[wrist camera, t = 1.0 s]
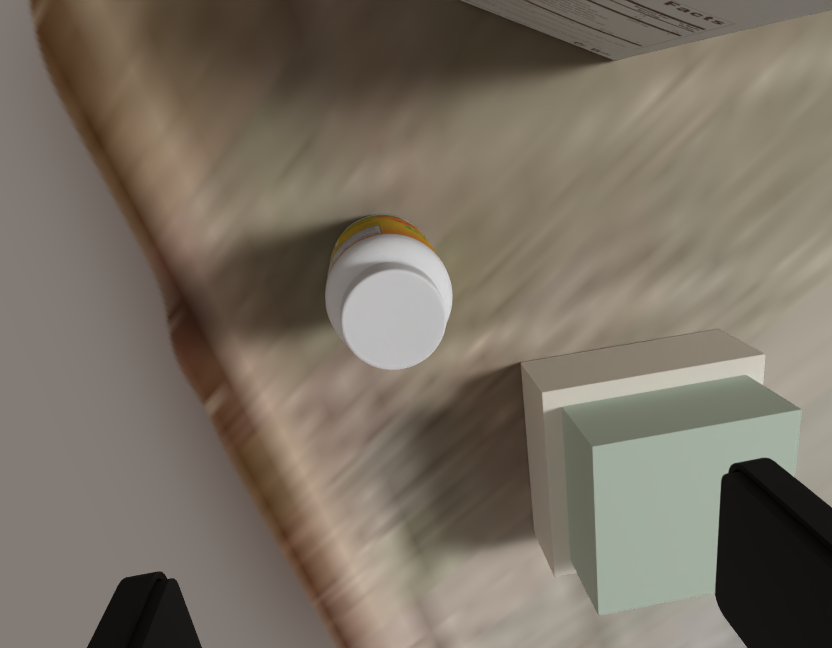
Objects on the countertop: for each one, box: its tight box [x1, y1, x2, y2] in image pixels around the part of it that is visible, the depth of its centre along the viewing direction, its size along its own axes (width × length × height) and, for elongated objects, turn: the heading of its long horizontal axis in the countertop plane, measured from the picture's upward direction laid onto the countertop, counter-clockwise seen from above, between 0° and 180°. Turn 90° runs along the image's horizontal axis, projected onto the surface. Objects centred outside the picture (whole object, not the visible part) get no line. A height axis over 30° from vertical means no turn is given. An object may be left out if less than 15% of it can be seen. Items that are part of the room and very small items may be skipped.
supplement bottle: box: [325, 214, 452, 370], centre depth 26 cm, size 5×5×10 cm
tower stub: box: [521, 329, 802, 615], centre depth 32 cm, size 12×12×8 cm
